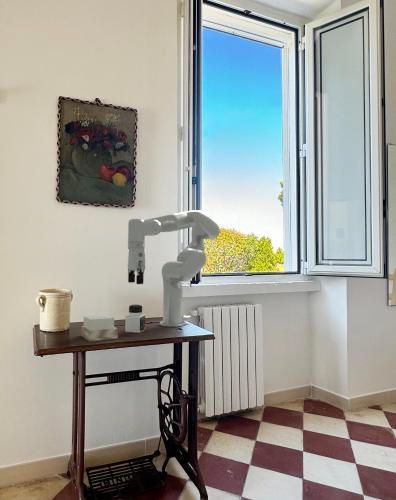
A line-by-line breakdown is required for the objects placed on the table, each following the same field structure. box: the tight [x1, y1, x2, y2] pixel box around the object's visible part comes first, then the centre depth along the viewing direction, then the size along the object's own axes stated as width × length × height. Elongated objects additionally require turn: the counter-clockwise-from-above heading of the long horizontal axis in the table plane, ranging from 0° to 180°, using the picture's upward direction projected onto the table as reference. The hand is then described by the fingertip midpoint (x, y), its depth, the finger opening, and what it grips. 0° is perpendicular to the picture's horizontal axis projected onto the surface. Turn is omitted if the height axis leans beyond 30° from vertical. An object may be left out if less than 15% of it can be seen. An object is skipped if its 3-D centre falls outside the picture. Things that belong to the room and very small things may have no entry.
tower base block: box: [80, 325, 119, 342], centre depth 164 cm, size 12×12×4 cm
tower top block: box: [83, 314, 115, 331], centre depth 163 cm, size 10×10×4 cm
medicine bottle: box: [124, 303, 146, 334], centre depth 177 cm, size 7×7×12 cm
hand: (135, 283), depth 177 cm, fingers open, 9 cm apart
